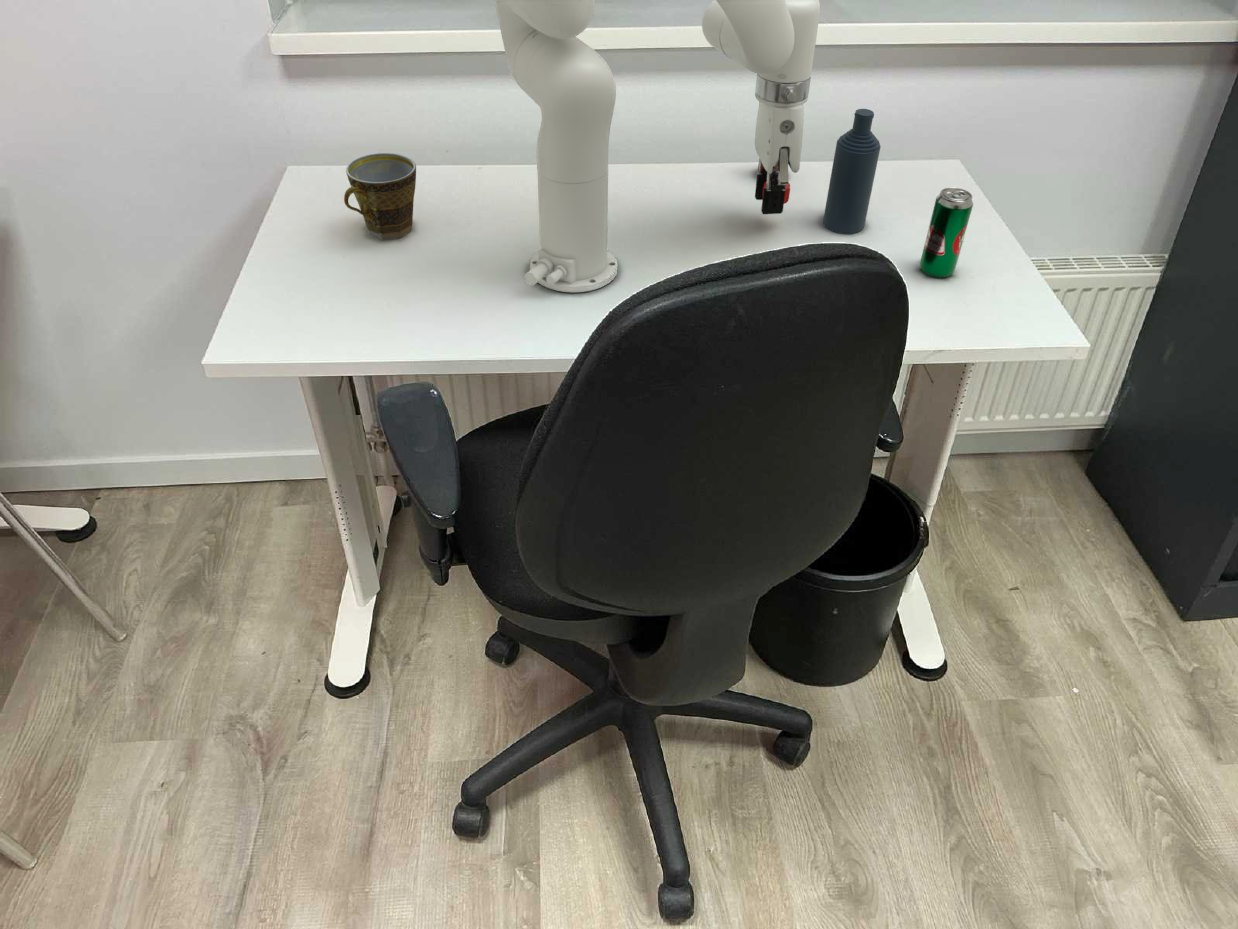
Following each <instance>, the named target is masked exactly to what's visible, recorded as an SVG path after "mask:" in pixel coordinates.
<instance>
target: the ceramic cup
mask: <svg viewBox="0 0 1238 929" xmlns="http://www.w3.org/2000/svg"><path fill="white" fill-rule="evenodd" d="M345 173H346V176H347V180H348V182H349V185H350V187H348V188H347V189H346V190H345V192H344V196H343V201H344V205H345V206H346V207H347V208H348V209H349V210H352V211H354V212H357V213H359V214H360V215H362V217H363V220H364V224H365V227H366V229H367V234H368V235H369V237H371V238H375V239H377V240H380V241H390V240H398V239H402V238H403V237H405V236H407V235H408V234H410V233H411V232H412V230H413V220H414V219H413V217H414V203H415V202H414V201H415V192H416V183H417V164H416V162H415V161H414V159H412V158H410V157H409V156H406V155H403V154H399V153H393V152H380V153H379V152H378V153H371V154H366V155H363V156H360V157H357V158H356V159H354V160H352V161H351V162H349V163H348V165H347V166H346V169H345ZM352 194H353V195H354V198H355V200H356V202H357V205H358V207H359V208H357V207H354V206H352V205H350V203H349V199H350V197H351V195H352Z"/></svg>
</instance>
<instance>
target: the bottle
mask: <svg viewBox="0 0 1238 929" xmlns="http://www.w3.org/2000/svg"><path fill="white" fill-rule="evenodd" d="M874 117H875V113H874V111H873V110H871V109H867V108H858V109H856V110H855V111H854V118H853V123H852V128H850V129H849V130H848V131H846V132H845V133H843V134H842V135H840V136H839V138H838V139H837V140H836V143H835V151H834V155H833V156H834V157H833V161H832V168H831V174H830V178H829V184H828V190H827V196H826V201H825V208H824V213H823V219H822V224H823V226H824V227H825V228H826V229H827V230H829V231H831V232H834V233H838V234H844V235H852V234H857V233H860V232H862V231H863V230H864V228H865V226H866V219H867V217H868V216H867V215H868V210H869V207H870V206H869V205H870V200H871V195H872V190H873V186H874V182H875V178H876V177H875V176H876V172H877V166H878V161H879V157H880V152H881V147H882V146H881V143H880V140H879V139H878V138H877V137H876V136H875V134H874V133H873V131H872V130H871V129H872V124H873V120H874Z"/></svg>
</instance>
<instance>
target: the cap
mask: <svg viewBox="0 0 1238 929" xmlns="http://www.w3.org/2000/svg"><path fill="white" fill-rule="evenodd" d="M772 180H773V179H772ZM766 183H767V181H766V182H765V183H764V187H763V191H764V188H766ZM790 194H791V183H789V182H788V184H787V185H786V190H785V198H784V205H785V204H787V203H788V202H789V200H790ZM762 197H763V196H762Z"/></svg>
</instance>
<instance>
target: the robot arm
mask: <svg viewBox="0 0 1238 929" xmlns="http://www.w3.org/2000/svg"><path fill="white" fill-rule="evenodd" d="M595 1H596V0H494V6H495V9H496V15H497V20H498V24H499V29H500V34H501V39H502V43H503V50H504V53H505V57H506V61H507V62H506V63H507V65H508V68H509V71H510V74H511V77H512V79H513V80H514V82H515V83H516V84H517V86H518V87H519V88H520V89H521V90H522V91H523V93H525V94H526V95H527V96H528V97H529V98H530V99H531V100H533V102H534V103H535V104H536V105H537V106H538V107H539V109H540V114H541V119H540V120H541V121H540V126H539V131H538V135H537V141H536V171H537V172H536V174H537V198H538V199H537V200H538V228H539V230H538V231H539V250H538V251H536V252H535V253H534V254H533V255H532V257H531V258H530V261H529V270H528V271H527V272H525V274H524V281H525V282H526V283H527V284H528V285H529V286H535V285H537V283H538V284H539V285H541V286H543V287H545V288H547V289H550V290H553V291H557V292H562V293H586V292H591V291H594V290H598V289H601V288H603V287H604V286H607V285H608V284H610V283H611V282H612V281H613V280H614V279H615V278H616V277H617V274H618V268H619V267H618V260H617V258H616V256H615V255H614V254H613V253H612V252H611V251H609V250H608V224H609V223H608V220H609V218H608V217H609V216H608V214H609V150H610V133H611V127H612V121H613V115H614V111H615V106H616V99H617V85H616V81H615V77H614V74H613V72H612V69H611V68H610V66H609V64H608V63H607V62H606V60H605V59H604V58H603V57H602V56H601V55H600V53H598V52H597V51H596V49H593V47H591V46H590V45H588V44H587V43H586V42H584V41H583V40H581V39H580V38H579V37H577V36H579V35H580V34H582V33H583V32H584V31H585V30H586V29H587V28H588V26H589V25H590V23H591V20H592V18H593V15H594V10H595V3H596V2H595ZM820 14H821V4H820V0H712V1H711V2H710V3H709V4H708V6H707V7H706V9H705V11H704V13H703V15H702V19H701V29H702V33H703V36H704V38H705V39H706V41H707V42H708V44H709V45H710V46H711V47H712V48H714V49H715V50H716V51H718V52H719V53H721V54H723V55H725V57H727V58H729V59H731V60H733V61H734V62H736V63H738V64H739V65H741V66H742V67H744V68H745V69H747V70H749V71H750V72H752V73H754V74H756V80H755V89H754V97H755V99H756V100H757V101H758V109H757V115H756V123H755V130H754V131H755V132H754V148H755V152H756V154H757V156H758V163H757V174H756V183H755V190H754V199H755V200H756V201H762V202H761V210H760V211H761V214H762V215H777V214H779V215H780V214H782V213H783V212H784V205H785V204H784V198H785V190H786V185H787V184H788V183H789V179H790V178H789V168H790V170H791V172H793V173H795V174H796V173H798V172H799V171H800V168H801V159H802V149H803V148H802V147H803V135H804V122H805V121H804V119H805V118H804V117H805V116H804V115H805V114H804V112H805V111H804V109H805V108H804V104H806V103H807V102H808V100H809V94H810V87H811V79H812V70H813V66H814V65H813V64H814V57H815V51H816V43H817V36H818V29H819V22H820ZM777 167H778V168H777ZM758 173H761V174H758ZM772 179H773V180H772ZM766 181H767V183H766V188H764V191H763V187H764V183H765V182H766ZM762 196H763V197H762Z"/></svg>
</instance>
